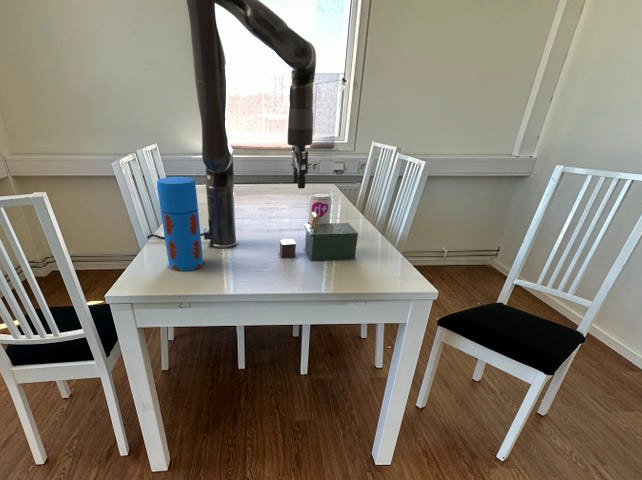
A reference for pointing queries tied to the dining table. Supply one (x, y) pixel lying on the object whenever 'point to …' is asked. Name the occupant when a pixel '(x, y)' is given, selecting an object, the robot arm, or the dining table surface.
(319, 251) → the tea tin
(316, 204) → the supplement can
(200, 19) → the robot arm
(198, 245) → the thermos
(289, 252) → the walnut block
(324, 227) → the tin lid
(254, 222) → the dining table surface
